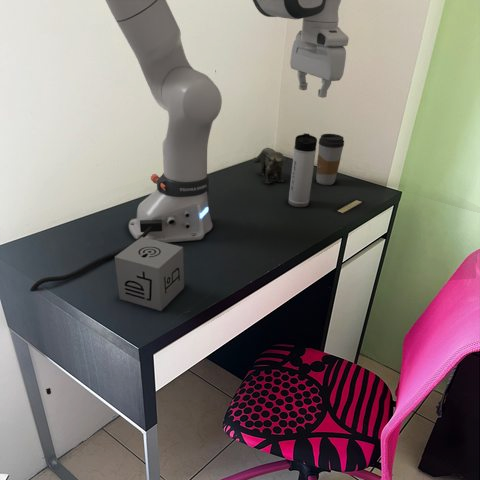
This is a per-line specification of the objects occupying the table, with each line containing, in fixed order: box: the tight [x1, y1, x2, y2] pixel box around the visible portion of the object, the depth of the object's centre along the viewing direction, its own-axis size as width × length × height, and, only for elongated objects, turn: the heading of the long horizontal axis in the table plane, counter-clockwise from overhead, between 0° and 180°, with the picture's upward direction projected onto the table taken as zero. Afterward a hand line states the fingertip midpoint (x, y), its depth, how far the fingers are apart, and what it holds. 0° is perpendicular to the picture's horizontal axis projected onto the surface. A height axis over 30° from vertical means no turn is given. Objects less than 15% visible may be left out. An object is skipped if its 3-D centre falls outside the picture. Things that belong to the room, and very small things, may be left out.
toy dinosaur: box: [252, 147, 286, 184], centre depth 162 cm, size 22×8×11 cm, turn 10°
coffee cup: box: [316, 133, 345, 186], centre depth 161 cm, size 8×8×15 cm
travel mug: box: [287, 132, 318, 208], centre depth 143 cm, size 6×7×20 cm
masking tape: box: [337, 199, 362, 214], centre depth 148 cm, size 12×2×1 cm, turn 140°
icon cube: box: [114, 237, 185, 312], centre depth 101 cm, size 10×10×10 cm
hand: (312, 93), depth 130 cm, fingers open, 8 cm apart
